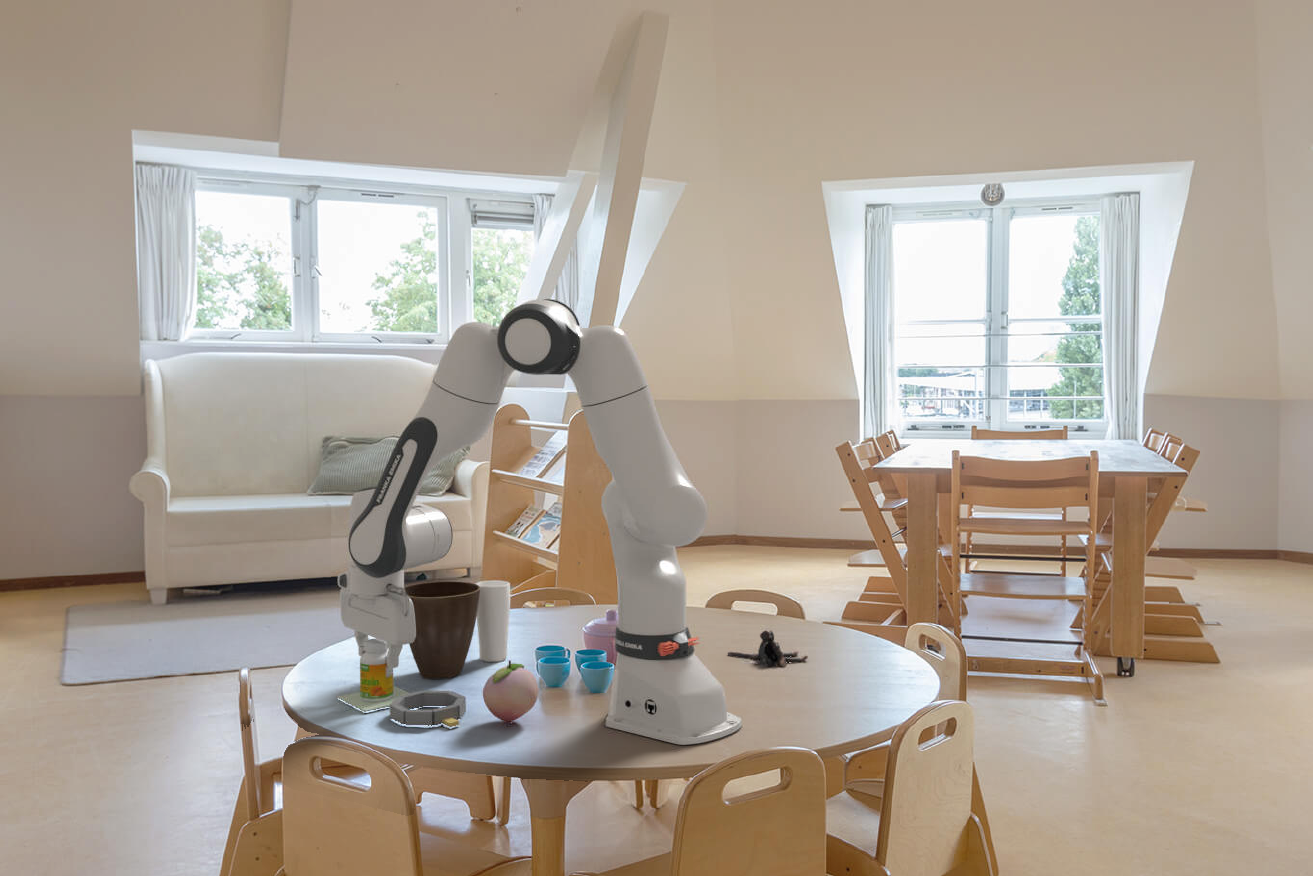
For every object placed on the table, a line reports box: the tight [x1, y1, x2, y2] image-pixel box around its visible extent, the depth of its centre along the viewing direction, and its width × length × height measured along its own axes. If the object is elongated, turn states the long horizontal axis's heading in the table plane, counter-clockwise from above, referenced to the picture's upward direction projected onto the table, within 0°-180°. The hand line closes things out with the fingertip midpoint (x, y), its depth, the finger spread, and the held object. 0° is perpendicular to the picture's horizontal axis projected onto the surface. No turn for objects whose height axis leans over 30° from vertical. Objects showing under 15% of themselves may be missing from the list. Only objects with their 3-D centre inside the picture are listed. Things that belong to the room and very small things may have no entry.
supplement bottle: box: [359, 638, 394, 702], centre depth 167 cm, size 5×5×10 cm
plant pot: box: [404, 580, 480, 680], centre depth 183 cm, size 15×15×16 cm
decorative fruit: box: [482, 660, 539, 724], centre depth 156 cm, size 9×8×10 cm
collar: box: [389, 690, 467, 727], centre depth 159 cm, size 16×11×2 cm
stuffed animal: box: [727, 629, 809, 668], centre depth 194 cm, size 12×10×12 cm
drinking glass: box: [475, 579, 511, 663], centre depth 194 cm, size 7×7×15 cm
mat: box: [337, 685, 410, 712], centre depth 168 cm, size 10×10×1 cm
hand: (378, 661), depth 167 cm, fingers open, 8 cm apart
